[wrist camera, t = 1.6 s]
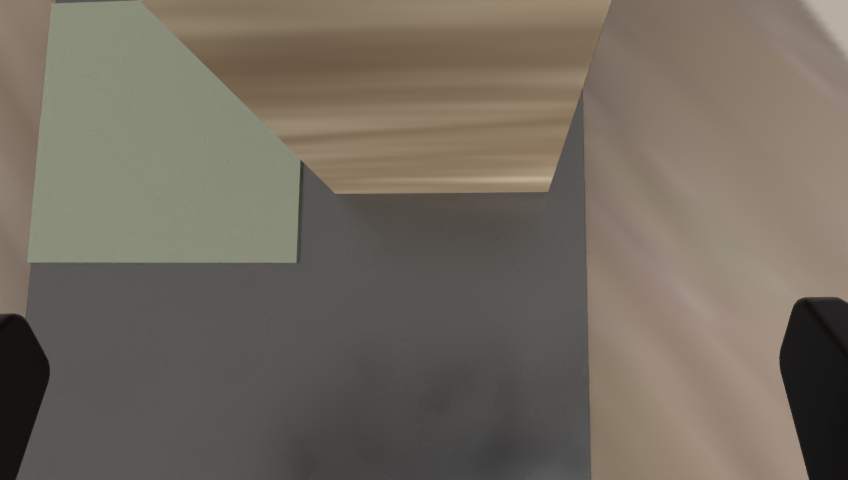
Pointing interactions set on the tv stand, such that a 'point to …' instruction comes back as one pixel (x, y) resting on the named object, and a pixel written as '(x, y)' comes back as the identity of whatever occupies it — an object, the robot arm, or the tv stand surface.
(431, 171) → the sleeve
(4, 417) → the robot arm
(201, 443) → the peg plate
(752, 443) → the tv stand surface
